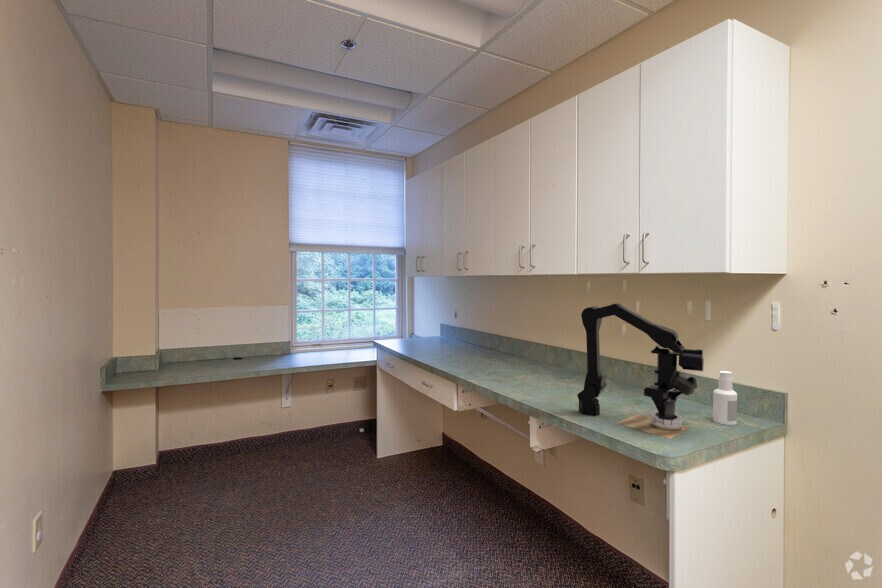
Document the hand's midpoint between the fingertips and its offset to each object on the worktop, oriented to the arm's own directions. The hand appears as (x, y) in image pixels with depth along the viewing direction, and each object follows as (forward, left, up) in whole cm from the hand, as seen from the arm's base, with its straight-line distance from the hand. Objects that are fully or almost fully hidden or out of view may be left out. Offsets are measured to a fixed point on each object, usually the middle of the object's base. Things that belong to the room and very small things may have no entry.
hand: (666, 414), depth 144 cm
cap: (0, 0, -1) cm, 1 cm away
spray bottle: (+10, +20, -5) cm, 23 cm away
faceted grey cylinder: (0, 0, -4) cm, 4 cm away
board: (-3, -2, -5) cm, 6 cm away
